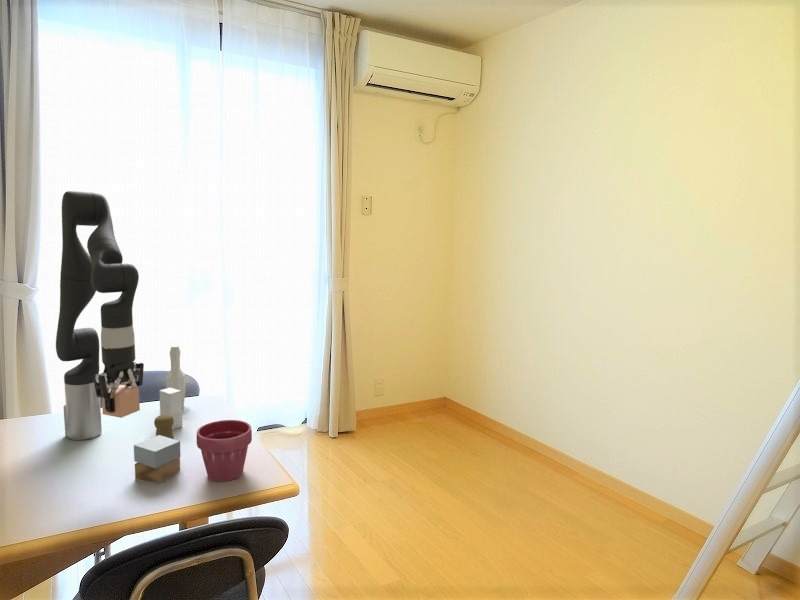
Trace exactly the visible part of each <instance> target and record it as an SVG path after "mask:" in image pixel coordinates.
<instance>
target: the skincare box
mask: <svg viewBox="0 0 800 600" xmlns="http://www.w3.org/2000/svg"><path fill="white" fill-rule="evenodd" d="M158 392H159V393H158V394H159V416H160V415H171V416H172V417H173V419H174V423H173V426H172V430H174V429H178V428H180V427H183V425H184V424H183V407H182V395H181V391H180V390H177V389H173V388H167V389H166V388H164V389H159V391H158Z"/></svg>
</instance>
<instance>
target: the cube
mask: <svg viewBox="0 0 800 600" xmlns="http://www.w3.org/2000/svg"><path fill="white" fill-rule="evenodd" d="M110 390H111V389H110ZM110 390H109V392H108V393H110ZM114 400H115V412H113V413H110V412H107V411H106V410H105V399H104V398H101V407H102V408H101V410H102V415H104V416H110V417H115V418H120V419H122V418H124V417H127V416H129V415H132V414H134V413H137V412H139V411H140V409H141V408H140V407H141V406H140V388H139V387H131V386H125V384H119V387H118V389H117V390H116V392H115V395H114Z"/></svg>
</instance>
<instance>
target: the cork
mask: <svg viewBox="0 0 800 600" xmlns="http://www.w3.org/2000/svg"><path fill="white" fill-rule="evenodd" d="M153 423H154V428H156V429H155V436H158V435H161V436H164V437H168V438H171V439H174V440H175V436H174V431H173V430H174V429H172V426H173V423H174V419H173V417H172V416H171V415H160V414H159V415H158V416H157V417H155V418H154V422H153Z"/></svg>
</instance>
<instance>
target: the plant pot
mask: <svg viewBox="0 0 800 600" xmlns="http://www.w3.org/2000/svg"><path fill="white" fill-rule="evenodd" d="M252 431H253V430H252V426H251V424H250V423H248V422H246V421H243V420H237V419H223V420H216V421H212V422H208V423H206V424H204V425H202V426H200V427H198V429H197V430H196V446H197V448H198V449H199V450H200V452H201V457H202V460H203V463H204V467H205V471H206V474H207V478H209V479H210V480H212V481H215V482H228V481H229V482H230V481H232V480H235V479H236V480H237V478H239V477H241V476H242V475H243V473H244V469H245V468H244V467H245V463H246V459H247V455H248V448H249V445H250V444H251V442H252V440H253V436H252V435H253V432H252Z"/></svg>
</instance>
